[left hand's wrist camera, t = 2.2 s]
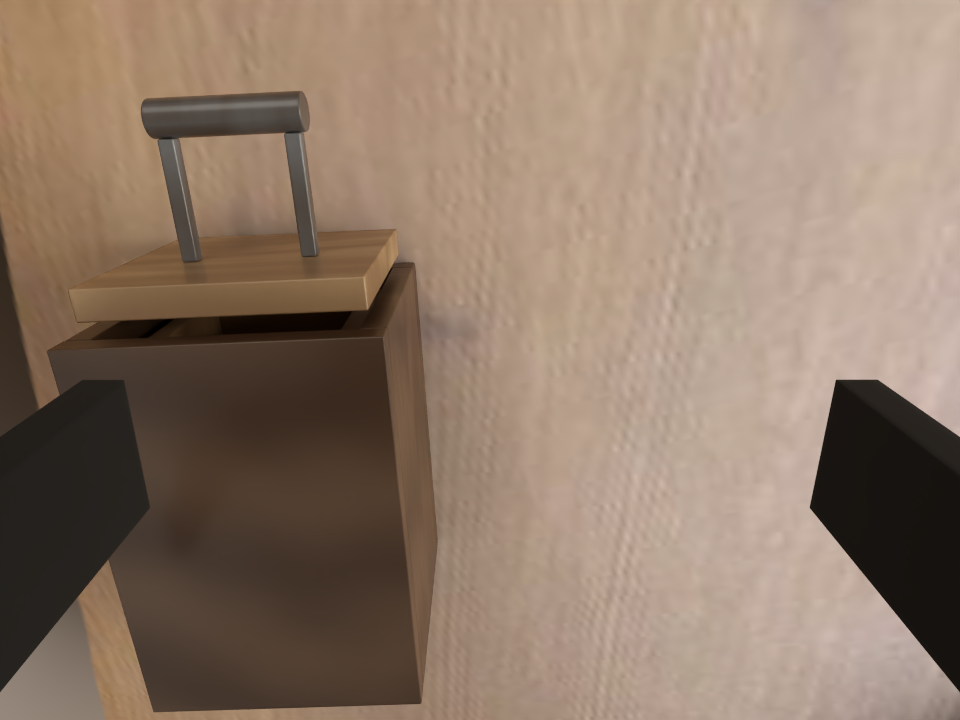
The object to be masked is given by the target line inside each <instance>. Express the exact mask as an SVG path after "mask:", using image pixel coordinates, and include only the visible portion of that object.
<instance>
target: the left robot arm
mask: <svg viewBox="0 0 960 720" xmlns="http://www.w3.org/2000/svg"><path fill="white" fill-rule="evenodd" d="M149 509H150V504H149V499H148V494H147V490H146V485H145V480H144V475H143V470H142V465H141V460H140V456H139V451H138V446H137V441H136V436H135V431H134V426H133V422H132V417H131V412H130V407H129V402H128V397H127V392H126V387H125V383H124V380H81V381H80V382H79V383H77V384H76V385H74V386H73V387H71V388H70V389H69V390H67V391H66V392H64V393H63V394H61V395H60V396H58V397H57V398H56V399H54V400H53V401H51V402H50V403H48V404H47V405H46V406H44V407H43V408H41V409H40V410H38V411H37V412H36V413H34V414H33V415H31V416H30V417H28V418H27V419H25V420H24V421H23V422H21V423H20V424H18V425H17V426H15V427H14V428H13V429H11V430H10V431H8V432H7V433H5V434H4V435H3V436H1V437H0V692H1V690H2V689H3V688H4V687H5V685H6V684H7V683H8V682H9V681H10V679H11V678H12V677H13V676H14V674H15V673H16V672H17V671H18V670H19V668H20V667H21V666H22V665H23V663H24V662H25V661H26V660H27V658H28V657H29V656H30V655H31V654H32V652H33V651H34V650H35V649H36V647H37V646H38V645H39V644H40V642H41V641H42V640H43V639H44V638H45V636H46V635H47V634H48V633H49V631H50V630H51V629H52V628H53V627H54V625H55V624H56V623H57V622H58V620H59V619H60V618H61V617H62V615H63V614H64V613H65V612H66V611H67V609H68V608H69V607H70V606H71V604H72V603H73V602H74V601H75V599H76V598H77V597H78V596H79V595H80V593H81V592H82V591H83V590H84V588H85V587H86V586H87V585H88V584H89V582H90V581H91V580H92V579H93V577H94V576H95V575H96V574H97V572H98V571H99V570H100V569H101V568H102V566H103V565H104V564H105V563H106V561H107V560H108V559H109V558H110V557H111V555H112V554H113V553H114V552H115V550H116V549H117V548H118V547H119V545H120V544H121V543H122V542H123V541H124V539H125V538H126V537H127V536H128V534H129V533H130V532H131V531H132V530H133V528H134V527H135V526H136V525H137V523H138V522H139V521H140V520H141V518H142V517H143V516H144V515H145V514H146V512H147V511H148V510H149ZM810 509H811V510H812V511H813V512H814V514H815V515H816V516H817V517H818V518H819V520H820V521H821V522H822V523H823V525H824V526H825V527H826V528H827V530H828V531H829V532H830V533H831V534H832V536H833V537H834V538H835V539H836V541H837V542H838V543H839V544H840V545H841V547H842V548H843V549H844V550H845V552H846V553H847V554H848V555H849V557H850V558H851V559H852V560H853V561H854V563H855V564H856V565H857V566H858V568H859V569H860V570H861V571H862V572H863V574H864V575H865V576H866V577H867V579H868V580H869V581H870V582H871V584H872V585H873V586H874V587H875V588H876V590H877V591H878V592H879V593H880V595H881V596H882V597H883V598H884V600H885V601H886V602H887V603H888V604H889V606H890V607H891V608H892V609H893V611H894V612H895V613H896V614H897V615H898V617H899V618H900V619H901V620H902V622H903V623H904V624H905V625H906V627H907V628H908V629H909V630H910V631H911V633H912V634H913V635H914V636H915V638H916V639H917V640H918V641H919V642H920V644H921V645H922V646H923V647H924V649H925V650H926V651H927V652H928V654H929V655H930V656H931V657H932V658H933V660H934V661H935V662H936V663H937V665H938V666H939V667H940V668H941V670H942V671H943V672H944V673H945V674H946V676H947V677H948V678H949V679H950V681H951V682H952V683H953V684H954V685H955V687H956V688H957V689H958V690H959V692H960V437H959V436H957V435H956V434H955V433H953V432H952V431H950V430H949V429H947V428H946V427H945V426H943V425H942V424H940V423H939V422H937V421H936V420H935V419H933V418H932V417H930V416H929V415H927V414H926V413H924V412H923V411H922V410H920V409H919V408H917V407H916V406H914V405H913V404H912V403H910V402H909V401H907V400H906V399H904V398H903V397H902V396H900V395H899V394H897V393H896V392H894V391H893V390H891V389H890V388H889V387H887V386H886V385H884V384H883V383H881V382H880V381H879V380H836V383H835V387H834V392H833V397H832V402H831V407H830V412H829V417H828V422H827V426H826V431H825V436H824V441H823V446H822V451H821V456H820V460H819V465H818V470H817V475H816V480H815V485H814V490H813V494H812V499H811V504H810Z"/></svg>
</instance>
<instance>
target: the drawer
mask: <svg viewBox="0 0 960 720" xmlns="http://www.w3.org/2000/svg"><path fill="white" fill-rule="evenodd" d="M141 116H142V121H143V125H144V127H145V130H146V132H147V133H148V135H149V136H150V137H151V138H153V139H159V140H158V146H159V151H160V155H161V160H162V165H163V170H164V175H165V179H166V184H167V189H168V194H169V199H170V204H171V208H172V213H173V218H174V223H175V228H176V232H177V237H178V240H176V241H174V242H172V243H170V244H168V245H165V246H163V247H161V248H159V249H157V250H155V251H152V252H150V253H148V254H146V255H144V256H141V257H139V258H137V259H135V260H133V261H130V262H128V263H126V264H124V265H122V266H119V267H117V268H115V269H113V270H111V271H108V272H106V273H104V274H102V275H100V276H97V277H95V278H93V279H91V280H89V281H86V282H84V283H82V284H80V285H78V286H75V287H73V288H71V289H69V290H68V292H69V296H70V300H71V303H72V307H73V311H74V314H75V318H76V321H77V322H78V323H86V322H109V321H132V320H156V319H174V320H172V321H171V322H170V323H168V324H167V325H165V326H164V327H163V328H161V329H160V330H158V331H157V332H155V333H154V334H153V335H151V336H150V337H148V338H157V337H181V336H204V335H228V334H251V333H275V332H299V331H322V330H346V329H360V328H361V326H362V324H363V323H364V321H365V319H366V317H367V315H368V313H369V311H370V309H371V308H372V306H373V304H374V302H375V300H376V298H377V296H378V295H379V293H380V291H381V289H380V287H381V285H382V283H383V282H384V280H385V278H386V276H387V274H388V272H389V271H390V269H391V267H392V265H393V263H394V261H395V260H396V258H397V256H398V254H399V251H398V240H397V230H396V229H386V230H364V231H342V232H320V233H317V229H316V222H315V214H314V206H313V199H312V191H311V184H310V176H309V169H308V161H307V154H306V146H305V139H304V133H303V132H307V131H308V130H309V125H310V115H309V107H308V103H307V99H306V96H305V94H304V93H303V92H302V91H288V92H268V93H248V94H227V95H207V96H187V97H167V98H147V99H145V100H144V101H143V102H142V106H141ZM272 133H285V134H284V137H285V144H286V151H287V158H288V165H289V172H290V179H291V186H292V193H293V200H294V207H295V214H296V221H297V228H298V234H276V235H254V236H231V237H209V238H199V237H198V232H197V227H196V222H195V217H194V212H193V207H192V202H191V196H190V191H189V186H188V181H187V176H186V171H185V166H184V161H183V156H182V151H181V146H180V140H179V138H189V137H210V136H231V135H252V134H272Z"/></svg>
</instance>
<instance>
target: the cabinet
mask: <svg viewBox="0 0 960 720" xmlns="http://www.w3.org/2000/svg"><path fill="white" fill-rule="evenodd" d="M380 289H381V291H380V293H379V295H378V296H377V298H376V300H375V302H374V304H373V306H372V308H371V309H370V311H369V313H368V315H367V317H366V319H365V321H364V323H363V324H362V326H361V328H360V329H346V330H322V331H299V332H275V333H251V334H228V335H204V336H181V337H157V338H148V337H150V336H151V335H153V334H154V333H155V332H157V331H158V330H160V329H161V328H163V327H164V326H165V325H167V324H168V323H170V322H171V321H172V320H174V319H156V320H132V321H109V322H97V323H96V324H94V325H92V326H91V327H89V328H87V329H85V330H84V331H82V332H80V333H78V334H77V335H75V336H73V337H71V338H70V339H68V340H66V341H64V342H62V343H60V344H58V345H57V346H55V347H53V348H51V349H50V350H48V351H47V353H48V356H49V360H50V363H51V367H52V370H53V373H54V377H55V380H56V383H57V387H58V390H59V394H60V395H61V394H63V393H64V392H66V391H67V390H69V389H70V388H71V387H73V386H74V385H76V384H77V383H79V382H80V381H81V380H124V383H125V387H126V392H127V397H128V402H129V407H130V412H131V417H132V422H133V426H134V431H135V436H136V441H137V446H138V451H139V456H140V460H141V465H142V470H143V475H144V480H145V485H146V490H147V494H148V499H149V504H150V509H149V510H148V511H147V512H146V514H145V515H144V516H143V517H142V518H141V520H140V521H139V522H138V523H137V525H136V526H135V527H134V528H133V530H132V531H131V532H130V533H129V534H128V536H127V537H126V538H125V539H124V541H123V542H122V543H121V544H120V545H119V547H118V548H117V549H116V550H115V552H114V553H113V554H112V555H111V557H110V558H109V563H110V566H111V570H112V573H113V576H114V580H115V583H116V586H117V590H118V593H119V597H120V600H121V603H122V607H123V610H124V614H125V617H126V620H127V624H128V627H129V630H130V634H131V637H132V641H133V644H134V647H135V651H136V654H137V658H138V661H139V664H140V668H141V671H142V674H143V678H144V681H145V685H146V688H147V691H148V695H149V698H150V702H151V705H152V708H153V712H176V711H208V710H239V709H271V708H303V707H334V706H366V705H398V704H421V702H422V693H423V682H424V672H425V662H426V653H427V643H428V633H429V623H430V613H431V603H432V593H433V583H434V573H435V563H436V554H437V552H436V551H437V543H438V541H437V529H436V517H435V504H434V492H433V480H432V468H431V455H430V443H429V431H428V419H427V406H426V394H425V382H424V370H423V357H422V345H421V333H420V320H419V308H418V296H417V284H416V271H415V264H414V263H393V265H392V267H391V269H390V271H389V272H388V274H387V276H386V278H385V280H384V282H383V283H382V285H381V287H380Z"/></svg>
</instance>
